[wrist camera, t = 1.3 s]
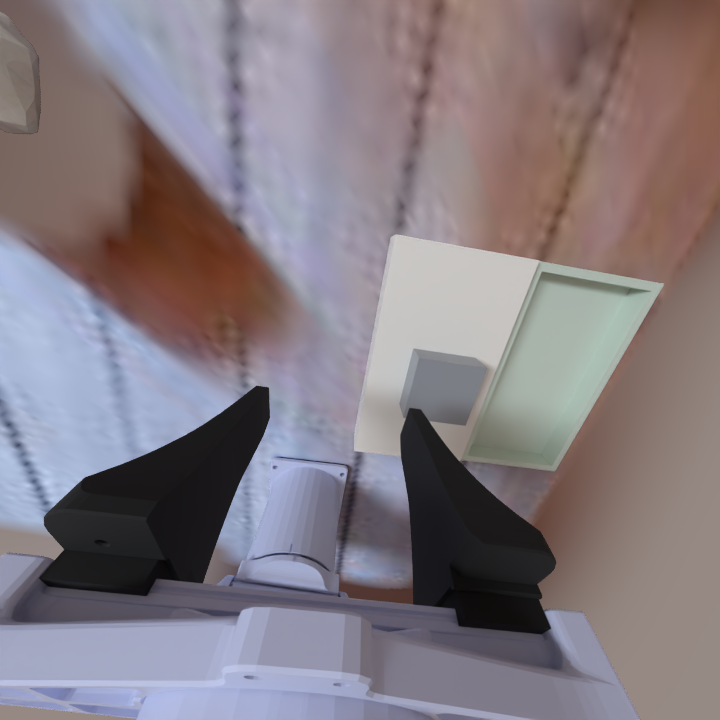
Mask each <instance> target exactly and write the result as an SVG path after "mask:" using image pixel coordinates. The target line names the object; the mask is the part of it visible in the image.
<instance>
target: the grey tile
mask: <svg viewBox="0 0 720 720" xmlns="http://www.w3.org/2000/svg"><path fill="white" fill-rule="evenodd" d="M486 371H487V367H486V366H485V365H483V364H482V363H481V362H480V361H479V360H478V359H476V358H474V357H467V356H461V355H454V354H448V353H441V352H434V351H428V350H421V349H414V348H413V351H412V355H411V359H410V363H409V367H408V371H407V375H406V379H405V383H404V387H403V391H402V395H401V399H400V403H399V405H400V408H401V412H402V415H403V418H406V416H407V413H408V410H409V408H415V409H421V410H422V412H423V413H424V414H425V416H426V417H427V419H428V420H429V421H432V422H440V423H447V424H455V425H463V426H466V424H467V421H468V418H469V416H470V413H471V410H472V408H473V405H474V402H475V400H476V397H477V395H478V392H479V389H480V387H481V384H482V381H483V379H484V376H485V373H486Z"/></svg>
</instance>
